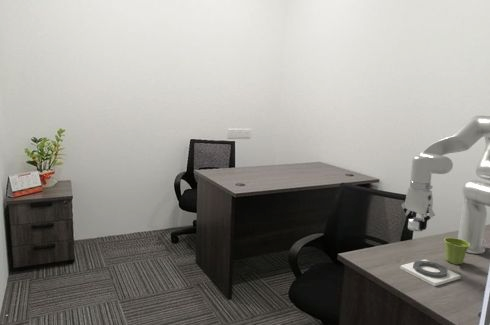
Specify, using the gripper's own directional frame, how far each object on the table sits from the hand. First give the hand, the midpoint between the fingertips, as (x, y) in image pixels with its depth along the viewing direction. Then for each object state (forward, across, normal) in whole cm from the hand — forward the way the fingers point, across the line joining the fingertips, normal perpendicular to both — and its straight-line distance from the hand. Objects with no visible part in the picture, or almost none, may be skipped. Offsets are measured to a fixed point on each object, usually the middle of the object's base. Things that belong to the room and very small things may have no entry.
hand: (415, 226), depth 155 cm
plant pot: (+14, -11, -12) cm, 21 cm away
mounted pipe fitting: (+13, -14, +8) cm, 21 cm away
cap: (+1, 0, 0) cm, 1 cm away
